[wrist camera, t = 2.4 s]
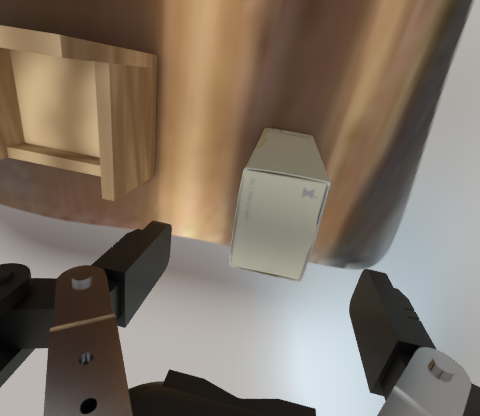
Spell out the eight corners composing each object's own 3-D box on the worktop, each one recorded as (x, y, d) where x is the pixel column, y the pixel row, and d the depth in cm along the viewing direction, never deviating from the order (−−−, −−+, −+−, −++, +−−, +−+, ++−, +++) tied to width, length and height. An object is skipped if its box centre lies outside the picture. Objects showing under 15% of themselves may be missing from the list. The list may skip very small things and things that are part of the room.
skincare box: (264, 126, 25) (240, 159, 14) (316, 135, 24) (334, 178, 13) (252, 193, 27) (223, 267, 16) (298, 203, 27) (302, 285, 16)
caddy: (157, 55, 24) (60, 34, 14) (154, 174, 28) (78, 224, 18) (6, 31, 25) (-182, -4, 15) (26, 148, 30) (-110, 181, 20)
